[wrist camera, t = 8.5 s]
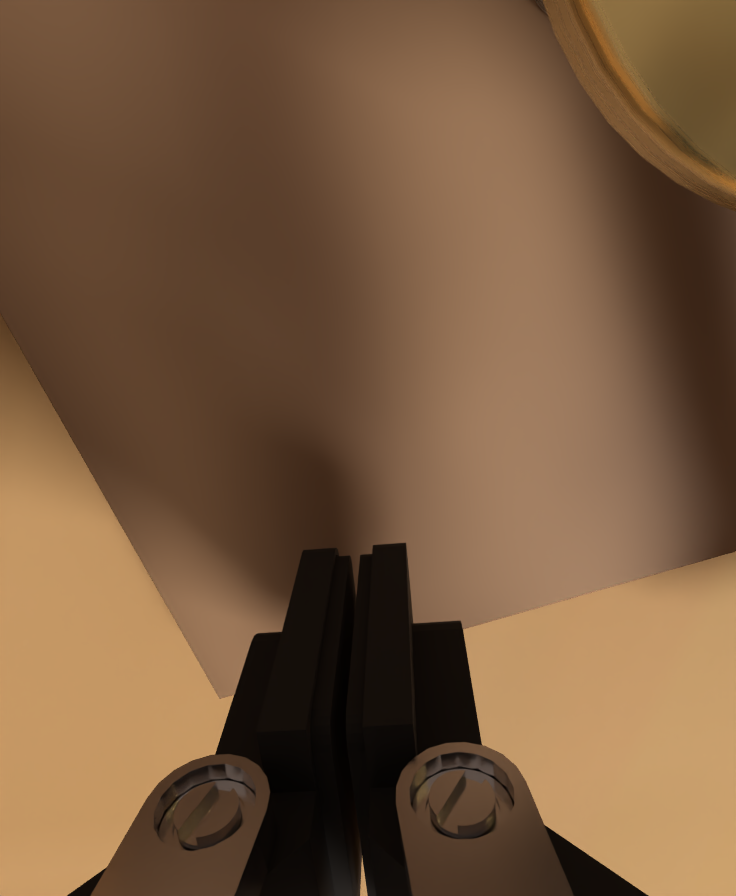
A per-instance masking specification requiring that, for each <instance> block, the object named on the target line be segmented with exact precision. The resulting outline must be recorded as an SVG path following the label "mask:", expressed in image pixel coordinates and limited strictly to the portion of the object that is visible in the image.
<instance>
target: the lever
mask: <svg viewBox="0 0 736 896" xmlns="http://www.w3.org/2000/svg"><path fill="white" fill-rule="evenodd" d="M535 1H536V3H537V4H538V6H539V7H540V8H541V9H542V10H543V11H544V12H545V13H546V14H547V15H548V17H549V20H550V22H551V25H552V28H553V31H554V33H555V36H556V38H557V40H558V42H559V44H560V46H561V48H562V50H563V52H564V53H565V55H566V57H567V59H568V61H569V63H570V65H571V67H572V69H573V71H574V73H575V75H576V77H577V78H578V80H579V82H580V84H581V85H582V87H583V88H584V89H585V91H586V92H587V94H588V95H589V96H590V98H591V99H592V101H593V102H594V103H595V105H596V106H597V108H598V109H599V110H600V112H601V113H602V115H603V116H604V117H605V119H606V120H607V122H608V123H609V124H610V125H611V126H612V127H613V128H614V129H615V130H616V131H617V132H618V133H619V134H620V135H621V136H622V137H623V138H624V139H625V140H626V141H627V142H628V143H629V144H630V146H631V147H632V148H633V149H634V150H635V151H636V152H637V153H638V154H639V155H640V156H641V157H643V158H644V159H645V160H647V161H648V162H649V163H651V164H652V165H653V166H655V167H656V168H657V169H659V170H660V171H661V172H662V173H664V174H665V175H666V176H668V177H669V178H670V179H672V180H673V181H674V182H676V183H677V184H679V185H681V186H683V187H685V188H686V189H688V190H690V191H692V192H694V193H696V194H698V195H699V196H701V197H703V198H705V199H707V200H709V201H710V202H712V203H714V204H716V205H719V206H722V207H725V208H728V209H730V210H733V211H736V0H535Z"/></svg>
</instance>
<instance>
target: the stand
mask: <svg viewBox="0 0 736 896" xmlns="http://www.w3.org/2000/svg"><path fill="white" fill-rule="evenodd" d="M0 313H1V315H2V317H3V319H4V320H5V322H6V324H7V326H8V328H9V329H10V331H11V333H12V335H13V336H14V338H15V340H16V342H17V343H18V345H19V347H20V349H21V350H22V352H23V354H24V356H25V357H26V359H27V361H28V363H29V364H30V366H31V368H32V370H33V371H34V373H35V375H36V377H37V379H38V380H39V382H40V384H41V386H42V387H43V389H44V391H45V393H46V394H47V396H48V398H49V400H50V401H51V403H52V405H53V407H54V408H55V410H56V412H57V414H58V415H59V417H60V419H61V421H62V422H63V424H64V426H65V428H66V430H67V431H68V433H69V435H70V437H71V438H72V440H73V442H74V444H75V445H76V447H77V449H78V451H79V452H80V454H81V456H82V458H83V459H84V461H85V463H86V465H87V466H88V468H89V470H90V472H91V473H92V475H93V477H94V479H95V481H96V482H97V484H98V486H99V488H100V489H101V491H102V493H103V495H104V496H105V498H106V500H107V502H108V503H109V505H110V507H111V509H112V510H113V512H114V514H115V516H116V517H117V519H118V521H119V523H120V524H121V526H122V528H123V530H124V532H125V533H126V535H127V537H128V539H129V540H130V542H131V544H132V546H133V547H134V549H135V551H136V553H137V554H138V556H139V558H140V560H141V561H142V563H143V565H144V567H145V568H146V570H147V572H148V574H149V575H150V577H151V579H152V581H153V583H154V584H155V586H156V588H157V590H158V591H159V593H160V595H161V597H162V598H163V600H164V602H165V604H166V605H167V607H168V609H169V611H170V612H171V614H172V616H173V618H174V619H175V621H176V623H177V625H178V626H179V628H180V630H181V632H182V634H183V635H184V637H185V639H186V641H187V642H188V644H189V646H190V648H191V649H192V651H193V653H194V655H195V656H196V658H197V660H198V662H199V663H200V665H201V667H202V669H203V670H204V672H205V674H206V676H207V678H208V679H209V681H210V683H211V685H212V686H213V688H214V690H215V692H216V693H217V695H218V697H219V699H221V698H225V697H228V696H232V695H234V694H235V691H236V688H237V685H238V682H239V679H240V676H241V672H242V669H243V666H244V663H245V660H246V657H247V654H248V651H249V647H250V644H251V641H252V639H253V637H254V635H256V634H257V633H269V632H282V629H283V625H284V621H285V617H286V613H287V609H288V606H289V602H290V598H291V594H292V590H293V586H294V582H295V578H296V574H297V570H298V566H299V563H300V559H301V555H302V552H303V550H309V549H323V548H337V549H338V552H339V556H349V555H350V556H351V560H352V567H353V575H354V583H355V592H356V595H357V584H358V573H359V562H360V555H363V554H372V548H373V545H380V544H394V543H406V546H407V556H408V567H409V579H410V590H411V601H412V613H413V623H428V622H444V621H460V620H461V623H462V628H463V629H466V628H469V627H473V626H476V625H480V624H483V623H487V622H490V621H494V620H497V619H501V618H504V617H508V616H511V615H515V614H518V613H522V612H525V611H529V610H532V609H536V608H539V607H543V606H546V605H550V604H553V603H557V602H560V601H564V600H567V599H571V598H574V597H578V596H581V595H585V594H588V593H592V592H595V591H599V590H602V589H606V588H609V587H613V586H616V585H620V584H623V583H627V582H630V581H634V580H637V579H641V578H644V577H648V576H651V575H655V574H658V573H662V572H665V571H669V570H672V569H676V568H679V567H683V566H686V565H690V564H693V563H697V562H700V561H704V560H707V559H711V558H714V557H718V556H721V555H725V554H728V553H732V552H735V551H736V211H733V210H730V209H728V208H725V207H722V206H719V205H716V204H714V203H712V202H710V201H709V200H707V199H705V198H703V197H701V196H699V195H698V194H696V193H694V192H692V191H690V190H688V189H686V188H685V187H683V186H681V185H679V184H677V183H676V182H674V181H673V180H672V179H670V178H669V177H668V176H666V175H665V174H664V173H662V172H661V171H660V170H659V169H657V168H656V167H655V166H653V165H652V164H651V163H649V162H648V161H647V160H645V159H644V158H643V157H641V156H640V155H639V154H638V153H637V152H636V151H635V150H634V149H633V148H632V147H631V146H630V144H629V143H628V142H627V141H626V140H625V139H624V138H623V137H622V136H621V135H620V134H619V133H618V132H617V131H616V130H615V129H614V128H613V127H612V126H611V125H610V124H609V123H608V122H607V120H606V119H605V117H604V116H603V115H602V113H601V112H600V110H599V109H598V108H597V106H596V105H595V103H594V102H593V101H592V99H591V98H590V96H589V95H588V94H587V92H586V91H585V89H584V88H583V87H582V85H581V84H580V82H579V80H578V78H577V77H576V75H575V73H574V71H573V69H572V67H571V65H570V63H569V61H568V59H567V57H566V55H565V53H564V52H563V50H562V48H561V46H560V44H559V42H558V40H557V38H556V36H555V33H554V31H553V28H552V25H551V22H550V20H549V17H548V15H547V14H546V13H545V12H544V11H543V10H542V9H541V8H540V7H539V6H538V4H537V3H536V1H535V0H0Z"/></svg>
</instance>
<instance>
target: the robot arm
mask: <svg viewBox="0 0 736 896" xmlns="http://www.w3.org/2000/svg"><path fill="white" fill-rule="evenodd" d="M362 858H363V865H364V872H365V879H366V886H367V893H368V896H648V895H646V894H645V893H643V892H642V891H641V890H639V889H638V888H636V887H635V886H633V885H632V884H630V883H629V882H627V881H626V880H624V879H623V878H621V877H620V876H619V875H617V874H616V873H614V872H613V871H611V870H610V869H608V868H607V867H605V866H604V865H602V864H601V863H599V862H598V861H597V860H595V859H594V858H592V857H591V856H589V855H588V854H586V853H585V852H583V851H582V850H580V849H579V848H577V847H576V846H574V845H573V844H572V843H570V842H569V841H567V840H566V839H564V838H563V837H561V836H560V835H558V834H557V833H555V832H554V831H552V830H551V829H550V828H548V827H547V826H545V825H544V823H543V821H542V819H541V816H540V814H539V812H538V809H537V807H536V804H535V802H534V800H533V797H532V795H531V792H530V790H529V788H528V785H527V783H526V781H525V779H524V778H523V776H522V775H521V773H520V771H519V770H518V768H517V767H516V765H514V764H513V763H512V762H511V761H510V760H508V759H507V758H506V757H505V756H504V755H503V754H501V753H499V752H497V751H495V750H492V749H490V748H488V747H486V746H483V745H482V743H481V737H480V731H479V725H478V719H477V713H476V707H475V701H474V695H473V689H472V683H471V677H470V671H469V664H468V658H467V652H466V646H465V640H464V634H463V628H462V623H461V620H460V621H444V622H428V623H413V613H412V601H411V590H410V579H409V567H408V556H407V546H406V543H394V544H380V545H373V548H372V554H363V555H360V562H359V573H358V584H357V595H356V592H355V583H354V575H353V567H352V560H351V556H350V555H349V556H339V552H338V549H337V548H323V549H309V550H303V552H302V555H301V559H300V563H299V566H298V570H297V574H296V578H295V582H294V586H293V590H292V594H291V598H290V602H289V606H288V609H287V613H286V617H285V621H284V625H283V629H282V632H269V633H257V634H256V635H254V637H253V639H252V641H251V644H250V647H249V651H248V654H247V657H246V660H245V663H244V666H243V669H242V672H241V676H240V679H239V682H238V685H237V688H236V691H235V694H234V698H233V701H232V704H231V707H230V710H229V713H228V716H227V719H226V723H225V726H224V729H223V732H222V735H221V738H220V741H219V745H218V748H217V751H216V754H215V755H210V756H206V757H203V758H199V759H196V760H193V761H191V762H189V763H187V764H185V765H183V766H181V767H179V768H177V769H176V770H174V771H173V772H172V773H170V774H169V775H168V776H167V777H166V778H164V779H163V780H162V781H161V782H159V783H158V785H157V786H156V787H155V789H154V790H153V791H152V793H151V794H150V795H149V796H148V798H147V799H146V801H145V803H144V804H143V806H142V808H141V809H140V811H139V813H138V815H137V816H136V818H135V820H134V821H133V823H132V825H131V827H130V828H129V830H128V832H127V834H126V835H125V837H124V839H123V840H122V842H121V844H120V846H119V847H118V849H117V851H116V853H115V854H114V856H113V858H112V859H111V861H110V863H109V865H108V866H107V868H105V869H104V870H102V871H101V872H100V873H98V874H97V875H95V876H94V877H93V878H91V879H90V880H88V881H87V882H86V883H84V884H83V885H81V886H80V887H79V888H77V889H76V890H74V891H73V892H72V893H70V894H69V895H67V896H360V884H361V862H362Z"/></svg>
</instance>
